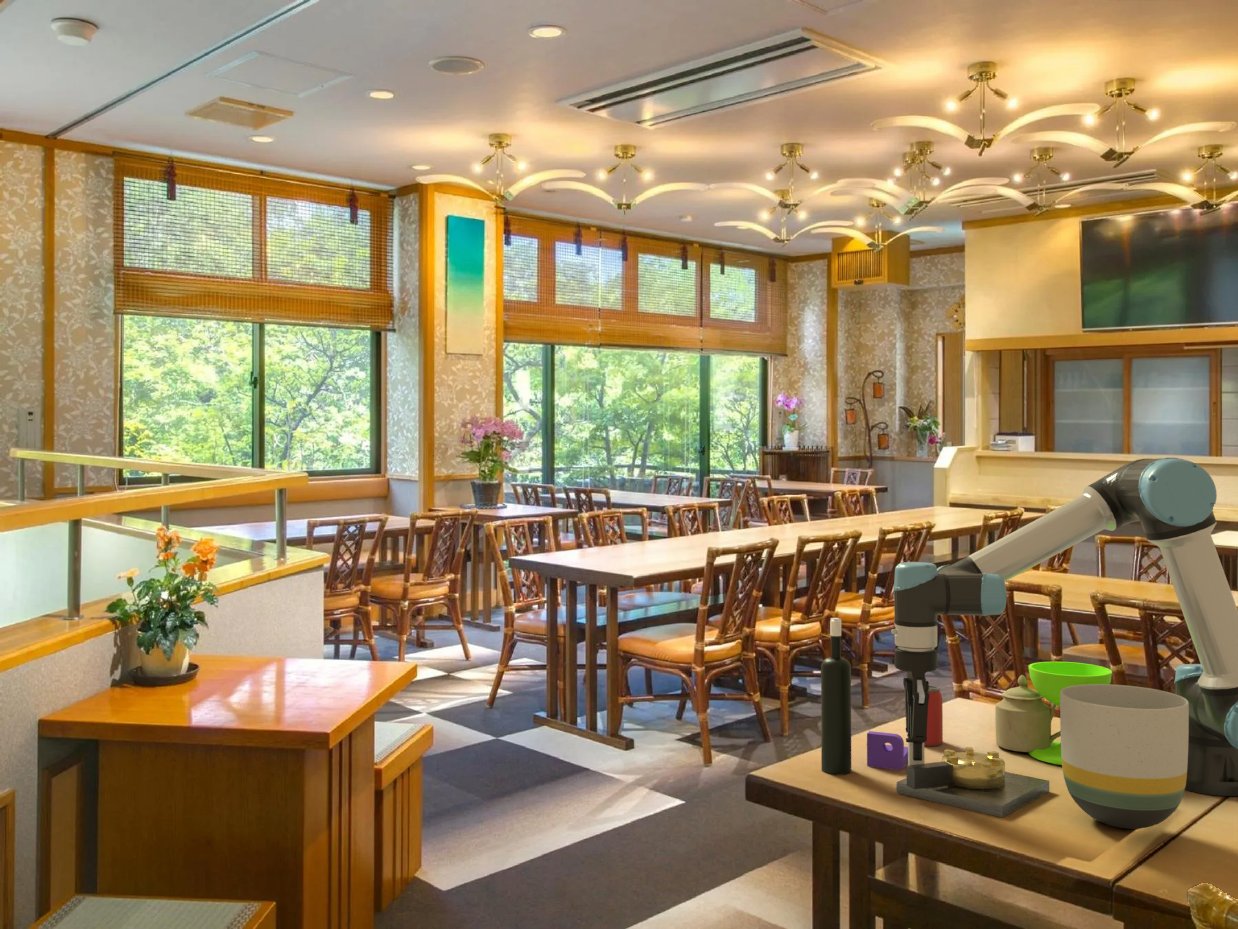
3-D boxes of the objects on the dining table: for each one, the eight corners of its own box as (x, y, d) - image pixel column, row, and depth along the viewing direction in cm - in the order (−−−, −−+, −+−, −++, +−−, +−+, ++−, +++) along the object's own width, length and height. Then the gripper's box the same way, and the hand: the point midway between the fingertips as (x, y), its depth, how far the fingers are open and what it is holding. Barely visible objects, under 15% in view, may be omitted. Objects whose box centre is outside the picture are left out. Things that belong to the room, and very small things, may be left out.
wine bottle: (817, 772, 211) (817, 619, 211) (826, 765, 216) (825, 615, 216) (846, 776, 208) (846, 621, 208) (854, 768, 213) (854, 617, 213)
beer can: (944, 748, 229) (943, 691, 229) (912, 746, 230) (911, 690, 230) (941, 740, 235) (940, 685, 235) (910, 738, 236) (909, 684, 236)
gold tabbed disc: (978, 768, 205) (978, 744, 205) (1018, 785, 194) (1017, 759, 194) (892, 779, 198) (892, 754, 198) (929, 796, 188) (929, 770, 188)
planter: (1048, 829, 178) (1049, 699, 178) (1072, 798, 194) (1072, 679, 194) (1181, 852, 167) (1181, 715, 167) (1194, 817, 183) (1194, 692, 183)
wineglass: (1032, 742, 233) (1032, 659, 233) (1114, 751, 226) (1113, 665, 226) (1024, 760, 219) (1023, 672, 219) (1110, 770, 212) (1110, 679, 212)
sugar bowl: (1057, 739, 234) (1056, 669, 234) (1078, 752, 223) (1078, 680, 223) (988, 739, 234) (988, 669, 234) (1005, 752, 223) (1005, 680, 223)
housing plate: (1049, 791, 198) (1049, 779, 198) (1002, 817, 184) (1002, 805, 184) (948, 770, 212) (947, 759, 212) (896, 793, 198) (896, 781, 198)
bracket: (902, 771, 212) (901, 737, 212) (867, 767, 215) (867, 733, 215) (912, 756, 223) (912, 723, 223) (878, 753, 226) (878, 720, 226)
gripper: (889, 641, 203) (890, 765, 203) (900, 654, 190) (900, 787, 190) (930, 641, 202) (930, 766, 203) (943, 654, 189) (944, 788, 190)
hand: (916, 776), depth 197 cm, fingers closed
